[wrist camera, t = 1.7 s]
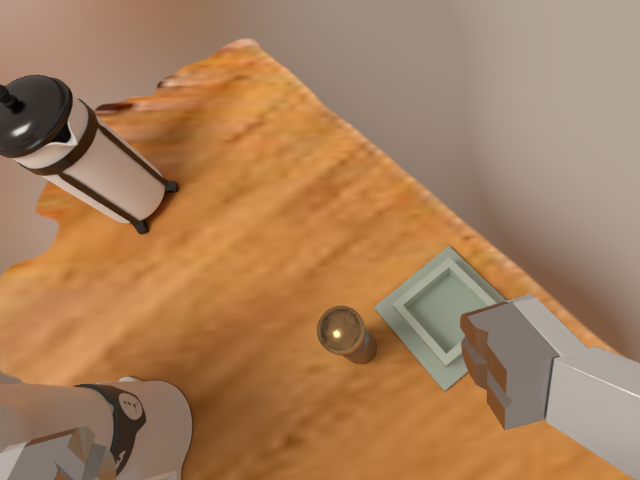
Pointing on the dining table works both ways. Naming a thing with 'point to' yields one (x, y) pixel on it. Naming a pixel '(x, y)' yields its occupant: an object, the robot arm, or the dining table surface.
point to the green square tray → (437, 313)
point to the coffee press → (77, 150)
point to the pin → (346, 335)
